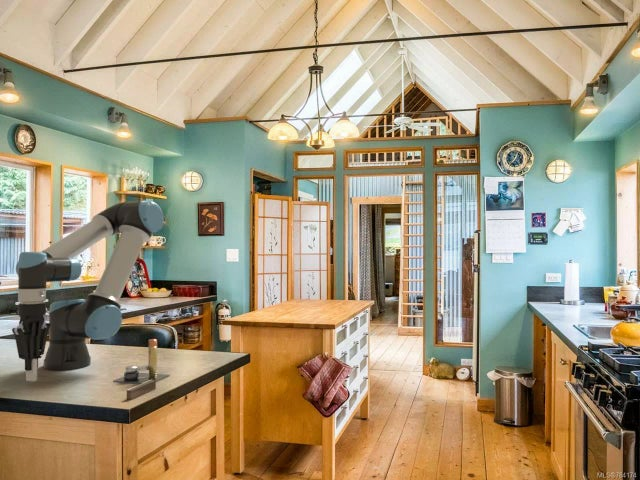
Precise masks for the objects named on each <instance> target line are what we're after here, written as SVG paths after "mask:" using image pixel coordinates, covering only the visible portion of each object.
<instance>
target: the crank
mask: <svg viewBox="0 0 640 480" xmlns="http://www.w3.org/2000/svg"><path fill="white" fill-rule="evenodd" d="M150 346H157V347H158V339H157V338H151V339H148V348H149V347H150ZM147 358H148V359H147V360H148V361H147V362H148V364H147V365H139V366H138V365H129V366H125V372H126V373H136V372H144V371H149V349H148V357H147Z"/></svg>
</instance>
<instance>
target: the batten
mask: <svg viewBox="0 0 640 480" xmlns="http://www.w3.org/2000/svg"><path fill="white" fill-rule="evenodd" d="M156 387H157V382H156V381H154V380H149V381H146V382H144V383H142V384H138V385H134V386H132V387H129V388H128V389H126V400H129V401H130V400H131V401H132V400H134V399H136V398H139V397H140V396H141V397H142V396H144V395H145V394H147V393H150V392H152V391H154V390H156V389H157V388H156Z"/></svg>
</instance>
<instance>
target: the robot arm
mask: <svg viewBox="0 0 640 480" xmlns="http://www.w3.org/2000/svg"><path fill="white" fill-rule="evenodd" d="M163 225H164V214H163V210H162V209H161V207H160V205H159V204H157V203H156V202H155V201H152V200H151V201H150V200H142V201H124V202H123V201H122V202H117V203H115V204H113V205H111V206H109V207H107V208H105V209H104V210H102V211H100V212H98V213H97V214H96V215H94V216H92V219H91V220H90V221H89V222H88V223H86V224H84V225H82V226H81V227H80V228H77V229H76V230H75V231H73V232H71V233H69V234H68V235H66V236H65V237H63V238H61V239H59V240H58V241H57V242H55V243H52V244H51V245H49V246H48V247H46V248H45V249H44V250H41V251H23V252H20V253H19V254H18V255H19V256H18V261H17V263H16V265H15V272H16V275H17V277H18V280H17V281H18V282H17V283H18V284H17V285H18V287H17V288H18V289H17V291H18V293H17V301H18V303H19V304H18V305H17V315H18V316H19V317H20V318H19V322H18V325H17V326H16V327H13V328H12V329H11V331H12V333H13V336H14V339H15V345H16V350H17V354H18V359H20V360H24V370H25V381H26V382H36V381H38V369H39V368H38V367H39V359H41V358H42V356H43V355H44V354H45V358H44V359H43V364H42V365H43V369H45V370H48V371H49V370H51V371H69V370H77V369H81V368H85V367H89V366H90V365H91V364H92V358H91V356H90V352H89V349H88V346H87V341H86V339H92V340H95V341H97V340H98V341H99V340H106V339H107V340H108V339H110V338H112V337H114V336H115V334H117V333H118V332H119V330H120V328H121V326H122V323H123V317H122V316H123V313H122V311H121V307H122V305H121V303H120V299H121V296H122V294H123V292H124V290H125V287H126V285H127V283H128V281H129V278H130V276H131V273H132V270H133V269H134V267H135V264H136V261H137V259H138V258H139V254H140V252H141V251H142V247H143V245H144V244H145V243H147V242H149V241H150V240H151V237H152V235H153V233H157V232H159V231H161V229H162V228H163ZM118 234H120V236H119V237H118V240H117V242H116V244H115V246H114V247H113V248H114V249H113V250H112V253H111V255H110V257H109V260H108V262H107V264H106V266H105V268H104V270H103V271H102V272H103V273H102V275H101V277H100V279H99V280H98V281H99V282H98V283H97V286H96V289H95V290H94V292H91V293H89V294H88V295H87V296H86V298H79V299H69V300H61V301H54V302H51V304H50V305H49V313H48V316H49V317H48V318H49V319H48V321H49V322H46V319H45V317H44V316H45V315H46V314H47V313H46V312H47V304H46V300H47V283H49V282H71V281H75V280H78V279H79V278H80V277H81V275H82V269H83V268H82V263H81V261H80V260H79V259H78V258H75V257H76V256H78V255H80V254H81V253H82V252H84V251H86V250H87V249H89V248H90V247H92V246H93V245H95V244H97V243H98V242H100V241H101V240H103V239H109V238H111V237H112V236H114V235H118ZM48 332H49V337H48ZM47 338H49V344H48V348H47V351H46V353H45V349H46V343H47Z"/></svg>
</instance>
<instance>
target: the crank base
mask: <svg viewBox="0 0 640 480" xmlns="http://www.w3.org/2000/svg"><path fill="white" fill-rule="evenodd" d="M148 350H149V370H148V373H147V372H140V371H138V372H136V373H126V371H125V372H124V373H123V376H121V377H119V378H116V379H113V381H112V382H113V383H122V384H123V383H125V384H138V385H139V384H142V383H144V382H146V381H149V380H154V381H156V383H157V382H159V381H161V380H163V379H166V378H169V377H170V376H171V374H165V373H164V374H163V373H158V345H157V346H150V347H149V346H148Z"/></svg>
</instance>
